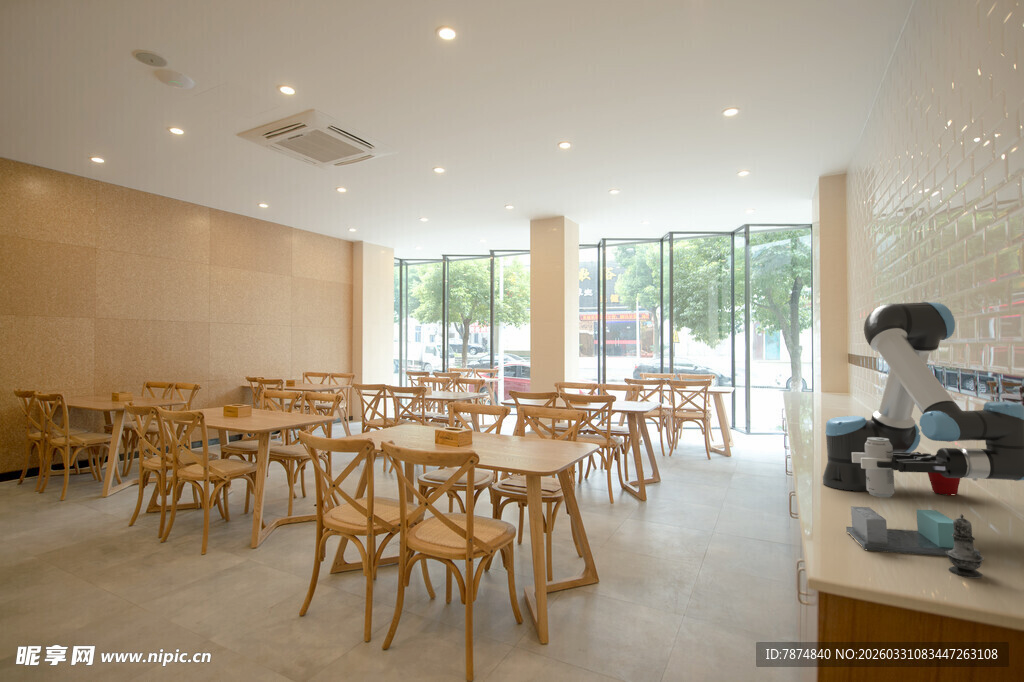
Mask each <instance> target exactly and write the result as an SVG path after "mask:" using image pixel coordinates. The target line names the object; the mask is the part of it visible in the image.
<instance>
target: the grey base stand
mask: <svg viewBox="0 0 1024 682" xmlns="http://www.w3.org/2000/svg"><path fill="white" fill-rule="evenodd" d="M850 514H851V526H846V527H845V528H846V533H847V532H849V533H850V534H851V535H852V536H853V537H854V538H855V539H856V540H857V541H858V542H859V543H860V544H861V545H862V547H863V548H864V549H867V550H866V551H868V550H875V551H874V552H883V551H886V552H887V551H888V552H887V553H897V552H900V553H899V554H901V553H902V554H912V553H913V554H915V555H928V556H929V555H930V556H939V557H941V556H942V557H944V556H945V557H948V555H947V554H946V551H948V550H953V548H946V547H939V546H937V545H936V544H934V543H933V542H932V541H930V540H929V539H927V538H926V537H924V536H923V535H922V534H920V533H919V532H918V530H909V529H892V528H887V519H886V518H885V517H883V516H882V515H880V514H879V513H878V512H876V510H873V509H872V507H869V506H854V505H853V506H850ZM862 547H861V548H862ZM863 548H862V549H863ZM973 548H974V551H975V553H976V554H978V555H980V556H981V551H980V550H978V549H977V548H975V547H974V546H973ZM864 549H863V550H864ZM886 552H885V553H886Z"/></svg>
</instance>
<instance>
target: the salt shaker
mask: <svg viewBox="0 0 1024 682" xmlns="http://www.w3.org/2000/svg"><path fill="white" fill-rule="evenodd" d="M964 517H965V516H964V515H963V514H962V513H961V514H960V515H959V518H955V519H953V520H954V521H953V526H954V534H952V536H953V537H954V548H953V550H948V551H946V554H947V555H948V556H947V558H948V560H949V562H950V563H951V564H952V565H954V566H950V567H949V568H948V571H949V572H950V573H952V574H954V575H956V576H960V577H963V578H968V579H983V577H984V575H983V573H981V572H980V571H978V569H979V568H980V567H981V566H982V564H983V562H984V560H985V559H984V557H983V556H982V555H981V554H980V555H978V554H976V553H975V551H974V548H975V547H974V541H975V540H976V538H975V537H974V536H973V526H972V523H971V521H970V520H968V519H966V518H964ZM973 547H974V548H973Z"/></svg>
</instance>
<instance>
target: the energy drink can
mask: <svg viewBox="0 0 1024 682" xmlns="http://www.w3.org/2000/svg"><path fill="white" fill-rule="evenodd" d="M892 457H893V448H892V445H891V443H890V442H889V439H887V438H881V437H868V438H867V441H866V443H865V458H889V459H891V462H892ZM894 471H895V470H893V469H892V468H891V469H866V486H867V491H866V492H868V493H869V495H870V496H873V497H878V498H892V497H893V495H894V494H895V493H896V492H895V473H894Z"/></svg>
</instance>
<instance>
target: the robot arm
mask: <svg viewBox="0 0 1024 682" xmlns="http://www.w3.org/2000/svg"><path fill="white" fill-rule="evenodd" d="M863 324H864V325H863V332H864V333H863V334H864V337H865V341H866V342H867V344H868V345H869V347H870V348H871V349H872V350H873V351H875V352H878V353H879V354H880V355H881V357H882V358H883V360H884V361H885V363H886V364H887V365H888V367H889V368H890V369H889V372H888V376H887V379H886V383H885V388H884V391H883V395H882V399H881V401H880V407H879V408H878V409H876V410H875V409H874V410H873V412H872V415H871V419H869V420H867V419H866V418H865V417H864V416H861V415H850V416H849V415H845V416H837V417H832V418H829V419H828V420H827V421H826V424H825V436H826V437H825V439H826V451H827V452H826V453H827V454H826V455H827V463H826V465H825V469H824V471H823V475H822V484H823V485H824V484H825V485H824V486H826V485H827V487H829V488H833V489H837V488H838V490H843V489H844V491H851V490H853V491H855V492H868V491H867V486H866V469H891V468H892V469H893V470H894V471H898V472H899V473H927V474H928V473H940V474H941V475H942V476H944V477H946V478H960V479H963V478H964V479H972V480H973V481H974V482H975V481H976V482H977V481H978V479H981V480H982V479H983V480H985V479H986V480H1005V481H1015V482H1018V481H1024V405H1023V404H1021V403H1020V402H1011V401H986V402H985V403H984V404H983V408H982V410H981V409H980V410H979V409H978V410H962V408H961V407H960V406H959V405H958V404H957V403H956V401H955V400H954V398H953V397H951V395H950V394H949V392H948V391H947V390H946V389H945V387H944V386H943V385H942V383H941V382H940V380H939V379H938V378H937V377H936V375H935V374H934V373H933V371H931V369H930V368H929V366H928V365H927V364H928V360H929V357H930V353H932V352H934V351H937V350H938V349H939V345H940V342H941V341H945V340H947V339H949V338H951V337H952V336H953V334H954V332H955V327H956V322H955V317H954V315H953V313H952V311H951V310H950V309H949V307H948V306H947V305H945V304H943V303H941V302H928V301H923V302H908V303H907V302H905V303H902V302H901V303H885V304H883V305H880V306H878V307H876V308H874V309H873V310H872V311H871V312H870V313H868V316H867V317H866V318H865V321H864V323H863ZM915 405H916V406H917V408H918V409H919V411H920V412H921V413H922V414H921V416H920V419H919V426H918V425H917V423H916V420H915V419H914V418H913V417H912V414H913V411H914V408H915ZM920 431H921V432H922V434H923V435H924V437H925V438H927V439H929V440H931V441H935V442H937V441H938V442H948V443H951V442H963V441H964V442H965V441H967V442H969V441H981V442H982V441H984V442H985V445H986V447H985V448H970V447H967V448H965V447H964V448H963V447H962V448H961V447H960V448H955V447H953V448H951V447H948V448H947V447H941V448H939V449H937V451H936V454H934V455H935V456H931V455H932V454H931V453H928V452H927V453H925V452H924V453H921V452H919V451H917V452H914V451H916V450H917V448H918V446H919V445H920V442H921V434H920ZM868 437H881V438H887V439H889V442H890V443H891V445H892V448H893V457H892V462H891V459H889V458H865V443H866V441H867V438H868ZM853 491H852V492H853Z"/></svg>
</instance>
